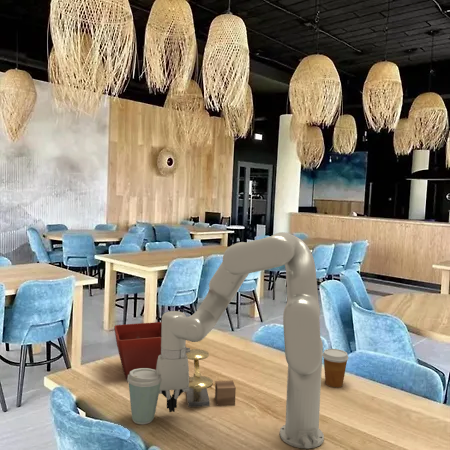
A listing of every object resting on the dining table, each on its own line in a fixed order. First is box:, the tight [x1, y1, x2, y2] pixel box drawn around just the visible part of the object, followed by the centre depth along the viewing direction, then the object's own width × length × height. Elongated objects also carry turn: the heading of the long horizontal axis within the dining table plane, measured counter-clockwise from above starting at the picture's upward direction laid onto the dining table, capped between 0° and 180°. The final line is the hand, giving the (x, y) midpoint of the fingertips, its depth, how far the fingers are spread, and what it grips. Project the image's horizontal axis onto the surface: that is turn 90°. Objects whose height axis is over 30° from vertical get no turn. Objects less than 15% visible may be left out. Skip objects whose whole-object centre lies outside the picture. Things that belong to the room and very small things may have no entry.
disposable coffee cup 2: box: [322, 348, 350, 388], centre depth 166 cm, size 10×10×12 cm
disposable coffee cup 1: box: [126, 368, 162, 425], centre depth 135 cm, size 11×11×15 cm
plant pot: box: [114, 321, 162, 381], centre depth 170 cm, size 19×19×17 cm
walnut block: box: [214, 379, 237, 407], centre depth 149 cm, size 6×6×6 cm
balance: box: [185, 348, 214, 408], centre depth 154 cm, size 23×9×12 cm, turn 8°
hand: (171, 410), depth 138 cm, fingers closed
